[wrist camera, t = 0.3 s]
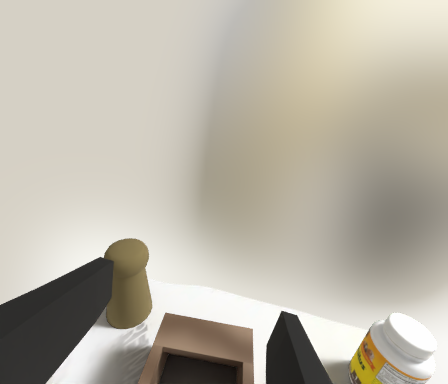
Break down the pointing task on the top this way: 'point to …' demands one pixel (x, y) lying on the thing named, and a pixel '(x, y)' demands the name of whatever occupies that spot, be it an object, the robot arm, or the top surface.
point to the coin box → (200, 346)
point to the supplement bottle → (394, 353)
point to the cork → (128, 284)
